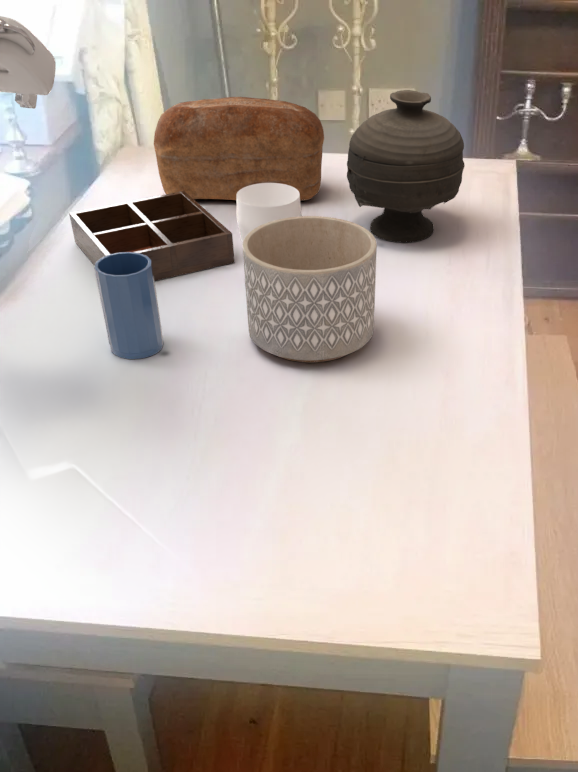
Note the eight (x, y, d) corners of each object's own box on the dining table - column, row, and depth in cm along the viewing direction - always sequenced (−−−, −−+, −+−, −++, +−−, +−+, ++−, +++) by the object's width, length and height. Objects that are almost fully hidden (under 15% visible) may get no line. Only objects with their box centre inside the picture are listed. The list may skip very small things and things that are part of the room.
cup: (276, 299, 126) (271, 212, 118) (228, 281, 130) (221, 197, 122) (315, 276, 132) (314, 192, 123) (268, 260, 135) (264, 177, 127)
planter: (399, 340, 118) (404, 245, 109) (303, 384, 110) (300, 285, 101) (318, 296, 127) (317, 205, 118) (224, 334, 119) (215, 239, 110)
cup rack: (114, 290, 128) (108, 259, 125) (75, 242, 140) (68, 212, 137) (234, 262, 135) (232, 233, 132) (187, 218, 146) (184, 190, 143)
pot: (468, 207, 148) (477, 74, 133) (450, 262, 137) (457, 124, 122) (363, 199, 152) (359, 69, 137) (337, 252, 141) (330, 117, 125)
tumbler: (120, 364, 114) (105, 280, 106) (103, 340, 118) (87, 259, 110) (171, 351, 116) (159, 268, 108) (152, 328, 120) (139, 247, 113)
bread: (323, 208, 150) (322, 114, 140) (156, 205, 150) (143, 112, 140) (326, 181, 158) (325, 91, 148) (168, 179, 159) (156, 89, 149)
